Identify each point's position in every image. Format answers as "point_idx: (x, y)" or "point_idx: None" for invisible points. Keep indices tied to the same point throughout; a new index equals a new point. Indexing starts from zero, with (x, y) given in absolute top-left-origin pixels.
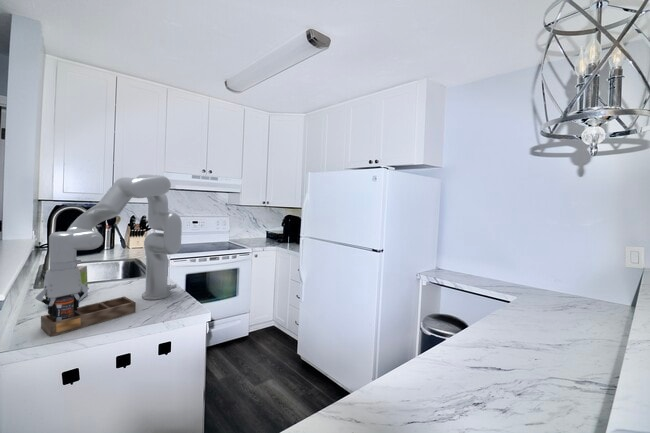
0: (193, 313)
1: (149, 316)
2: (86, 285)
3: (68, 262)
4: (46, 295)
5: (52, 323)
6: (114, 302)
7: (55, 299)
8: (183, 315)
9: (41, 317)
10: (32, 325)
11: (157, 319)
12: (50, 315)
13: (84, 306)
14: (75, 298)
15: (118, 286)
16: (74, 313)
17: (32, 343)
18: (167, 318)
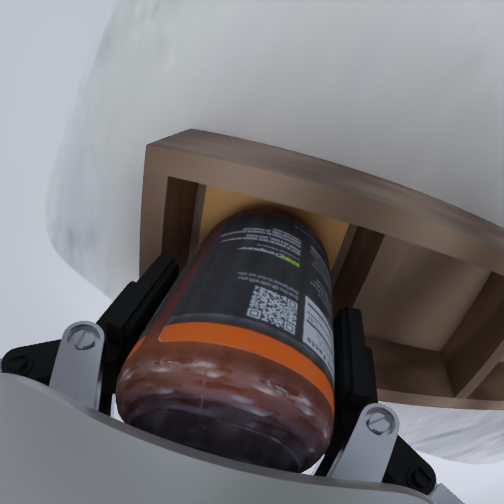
0: (487, 461)
1: (473, 422)
2: None
3: None
4: (11, 380)
5: None
6: None
7: (123, 420)
8: (475, 459)
9: (148, 159)
10: (186, 32)
11: (448, 446)
12: (207, 181)
13: (474, 255)
14: (324, 454)
15: None
16: (362, 267)
17: (106, 281)
18: (455, 454)
